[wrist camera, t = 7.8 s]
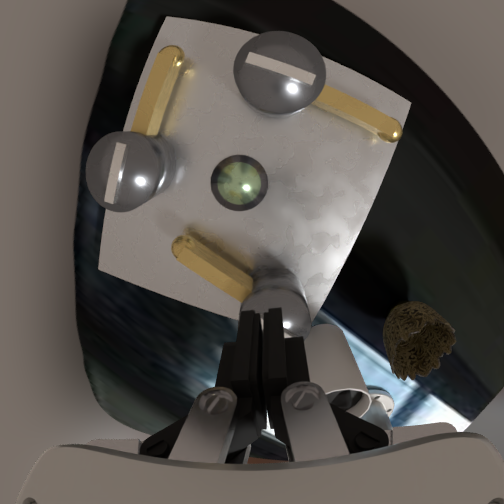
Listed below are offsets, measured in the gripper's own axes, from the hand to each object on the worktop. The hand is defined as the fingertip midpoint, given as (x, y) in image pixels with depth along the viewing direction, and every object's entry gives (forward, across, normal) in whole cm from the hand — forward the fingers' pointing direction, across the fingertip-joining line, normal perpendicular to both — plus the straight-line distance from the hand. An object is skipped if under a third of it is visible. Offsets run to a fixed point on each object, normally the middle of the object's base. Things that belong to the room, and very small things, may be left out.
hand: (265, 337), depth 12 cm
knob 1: (+14, +3, +4) cm, 15 cm away
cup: (+16, -14, +11) cm, 24 cm away
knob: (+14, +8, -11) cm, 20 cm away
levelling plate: (+16, +2, -5) cm, 16 cm away
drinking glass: (+16, -5, +14) cm, 22 cm away
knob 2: (+14, -6, -11) cm, 19 cm away
